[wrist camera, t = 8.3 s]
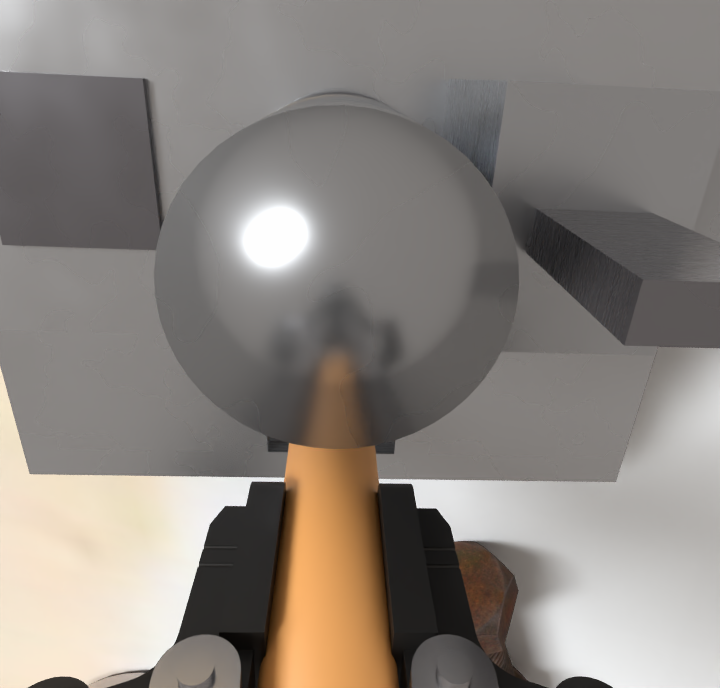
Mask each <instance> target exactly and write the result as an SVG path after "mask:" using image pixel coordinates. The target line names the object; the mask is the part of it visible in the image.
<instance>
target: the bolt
mask: <svg viewBox="0 0 720 688" xmlns="http://www.w3.org/2000/svg"><path fill="white" fill-rule="evenodd" d="M454 544H455V551H456V553H457V557H458V561H459V568H460V569H461V573H462V577H463V582H464V586H465V590H466V594H467V598H468V602H469V607H470V611H471V615H472V619H473V623H474V627H475V631H476V635H477V638H478V641H479V643H480V645H481V647H482V649H483V650H484V652H485V653H486V654H487V656H488V657H489V658H490V659H491V660H492V661H493V662H494V663H495V664H496V665H497V666H498V667H500V668H501V669H503V670H504V671H505V672H507V673H509V674H511V675H513V676H515V677H517V678H520V679H522V680H526V679H525V678H524V676H523V675H522V674H521V673H520V672H519V671H518V670H516V669H515V668H514V667H513V666H512V664H511V661H510V658H509V654H508V651H507V649H506V646H505V640H506V636H507V633H508V629H509V625H510V621H511V618H512V614H513V610H514V606H515V602H516V598H517V595H518V588H517V584H516V581H515V577H514V575H513V574H512V573H511V572H510V571H509V570H508V569H507V567H506V566H505V565H504V564H503V563H502V562H501V561H499V560H498V559H497V558H496V557H495V556H494V555H493V554H492V553H490V552H489V551H488V550H487V549H486V548H484V547H483V546H481V545H479V544H478V543H475V542H473V541H457V542H454ZM526 681H527V680H526Z"/></svg>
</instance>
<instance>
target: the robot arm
mask: <svg viewBox="0 0 720 688" xmlns="http://www.w3.org/2000/svg"><path fill="white" fill-rule="evenodd" d="M377 495H378V507H379V518H380V529H381V540H382V552H383V563H384V574H385V586H386V597H387V608H388V619H389V631H390V642H391V653H392V656H393V657H394V659H395V662H396V665H397V671H398V681H399V688H547V687H544V686H541V685H538V684H535V683H532V682H529V681H526V680H522V679H520V678H517V677H515V676H513V675H511V674H509V673H507V672H505V671H504V670H503V669H501V668H500V667H498V666H497V665H496V664H495V663H494V662H493V661H492V660H491V659H490V658H489V657H488V656H487V654H486V653H485V652H484V650H483V649H482V647H481V645H480V643H479V641H478V638H477V635H476V631H475V627H474V623H473V619H472V615H471V611H470V607H469V602H468V598H467V594H466V590H465V586H464V582H463V577H462V573H461V569H460V568H459V561H458V557H457V553H456V551H455V544H454V540H453V536H452V532H451V528H450V526H449V524H448V523H447V522H446V520H445V519H444V518H443V517H442V515H441V514H440V513H439V511H438V510H437V509H424V508H416V502H415V496H414V490H413V486H412V484H378V492H377ZM285 498H286V482H252V483H251V486H250V490H249V495H248V499H247V504H246V506H225V507H224V508H223V510H222V511H221V512H220V513H219V514H218V516H217V517H216V518H215V519H214V520H213V521H212V523H211V524H210V527H209V530H208V534H207V537H206V541H205V544H204V549H203V551H202V554H201V558H200V561H199V567H198V568H197V572H196V575H195V579H194V582H193V586H192V589H191V593H190V596H189V600H188V603H187V607H186V610H185V614H184V617H183V621H182V624H181V628H180V631H179V634H178V637H177V640H176V642H175V644H174V645H173V646H172V647H171V648H170V649H169V650H168V651H166V653H165V654H164V655H163V656H162V657H161V658H160V660H159V661H158V663H157V664H156V666H155V667H154V668H152V669H151V670H149V671H148V672H146V673H127V674H120V675H115V676H111V677H106V678H104V679H101V680H99V681H96V682H94V683H92V684H90V685H89V686H87V685H86V684H85V683H84V682H82V681H81V680H79V679H76V678H72V677H54V678H50V679H46V680H43V681H41V682H38V683H36V684H34V685H32V686H30V687H28V688H257V685H258V677H259V670H260V666H261V663H262V661H263V658H264V657H265V656H266V648H267V640H268V632H269V624H270V616H271V608H272V600H273V593H274V585H275V577H276V569H277V561H278V553H279V545H280V537H281V529H282V521H283V514H284V506H285ZM556 688H613V687H611V686H609V685H608V684H606V683H604V682H602V681H599V680H597V679H593V678H589V677H572V678H568V679H566V680H564V681H562V682H561V683H560V684H559V685H558V686H557V687H556Z"/></svg>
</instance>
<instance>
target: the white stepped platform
mask: <svg viewBox="0 0 720 688" xmlns="http://www.w3.org/2000/svg"><path fill="white" fill-rule="evenodd" d="M658 347H695V348H720V0H0V366H1V370H2V374H3V377H4V381H5V385H6V388H7V392H8V396H9V399H10V403H11V407H12V410H13V414H14V418H15V421H16V425H17V429H18V432H19V436H20V440H21V443H22V447H23V451H24V454H25V458H26V462H27V465H28V469H29V473H30V474H59V475H135V476H211V477H285V471H286V463H287V456H288V448H289V443H292V444H296V445H302V446H307V447H313V448H326V449H350V448H361V447H367V446H374V445H375V450H376V460H377V470H378V479H439V480H514V481H590V482H616V480H617V476H618V473H619V470H620V467H621V464H622V460H623V457H624V454H625V451H626V448H627V444H628V441H629V438H630V435H631V432H632V429H633V425H634V422H635V419H636V416H637V413H638V409H639V406H640V403H641V400H642V397H643V393H644V390H645V387H646V384H647V381H648V377H649V374H650V371H651V368H652V365H653V362H654V358H655V355H656V352H657V349H658Z"/></svg>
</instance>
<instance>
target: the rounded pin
mask: <svg viewBox="0 0 720 688" xmlns="http://www.w3.org/2000/svg"><path fill="white" fill-rule="evenodd" d="M284 482H286V498H285V506H284V514H283V521H282V529H281V537H280V545H279V553H278V561H277V569H276V577H275V585H274V593H273V600H272V608H271V616H270V624H269V632H268V640H267V648H266V656H265V657H264V658H263V661H262V663H261V666H260V670H259V677H258V685H257V688H399V681H398V671H397V665H396V662H395V659H394V657H393V656H392V653H391V642H390V631H389V619H388V608H387V597H386V586H385V574H384V563H383V552H382V540H381V529H380V518H379V507H378V495H377V492H378V484H379V480H378V470H377V460H376V450H375V445H374V446H367V447H361V448H350V449H326V448H313V447H307V446H302V445H296V444H292V443H289V448H288V456H287V463H286V471H285V479H284Z"/></svg>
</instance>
